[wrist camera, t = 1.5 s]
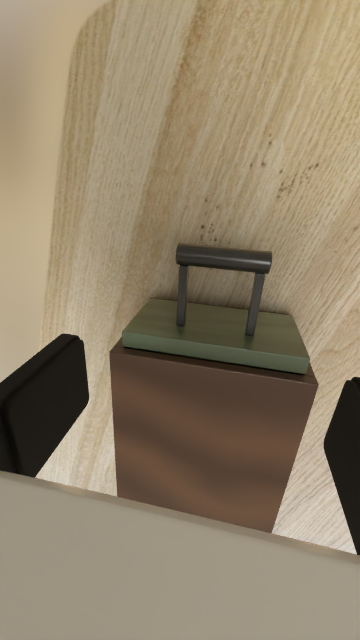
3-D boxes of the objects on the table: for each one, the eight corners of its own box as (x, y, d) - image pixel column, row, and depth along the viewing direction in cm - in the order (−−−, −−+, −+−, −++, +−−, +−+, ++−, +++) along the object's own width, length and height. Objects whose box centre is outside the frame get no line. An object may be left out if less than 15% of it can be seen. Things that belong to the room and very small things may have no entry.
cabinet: (147, 305, 27) (108, 351, 20) (295, 324, 25) (319, 384, 17) (146, 427, 34) (117, 499, 26) (263, 450, 32) (270, 536, 24)
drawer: (151, 230, 24) (118, 244, 17) (309, 244, 22) (337, 265, 15) (149, 419, 32) (126, 474, 26) (262, 441, 30) (267, 506, 24)
